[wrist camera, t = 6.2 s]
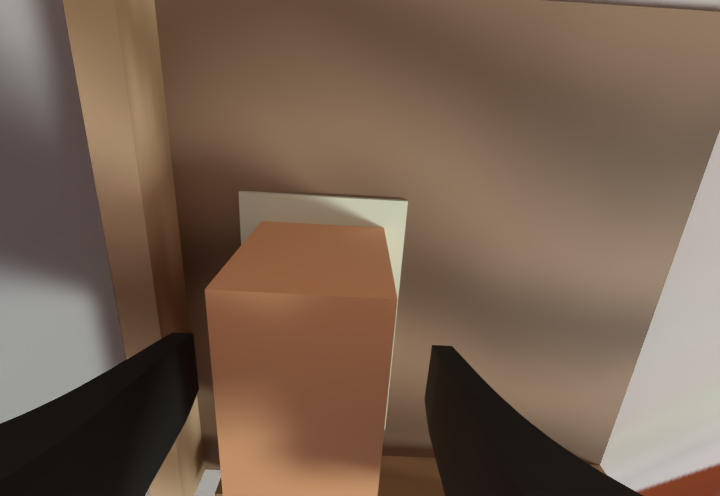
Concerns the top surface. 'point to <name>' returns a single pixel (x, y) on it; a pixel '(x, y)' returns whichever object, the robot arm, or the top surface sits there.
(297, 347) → the block
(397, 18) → the arena
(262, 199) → the pad
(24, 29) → the top surface
